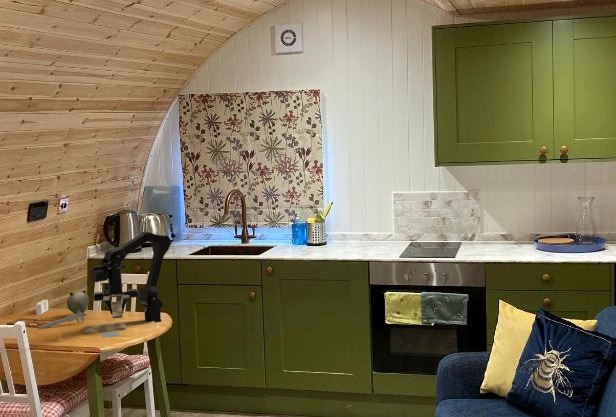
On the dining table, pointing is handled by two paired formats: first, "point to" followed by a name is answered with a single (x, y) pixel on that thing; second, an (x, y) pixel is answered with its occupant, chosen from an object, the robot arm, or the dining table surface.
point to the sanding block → (116, 309)
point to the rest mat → (110, 334)
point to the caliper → (69, 319)
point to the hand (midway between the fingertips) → (117, 314)
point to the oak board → (104, 328)
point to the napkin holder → (42, 307)
